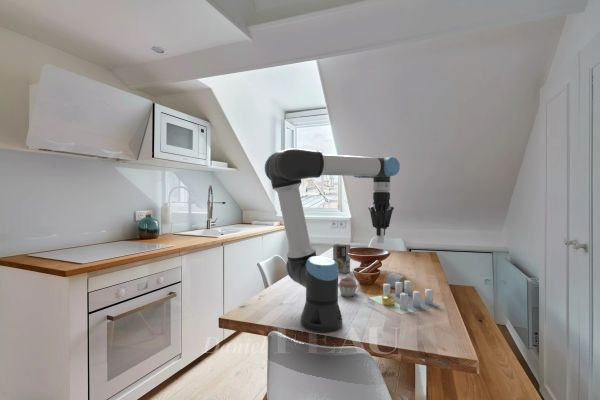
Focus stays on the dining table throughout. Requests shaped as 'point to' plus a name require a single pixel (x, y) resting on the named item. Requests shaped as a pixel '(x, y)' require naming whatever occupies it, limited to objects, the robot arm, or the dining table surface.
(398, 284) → the tray
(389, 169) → the robot arm
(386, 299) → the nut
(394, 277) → the ceramic mug
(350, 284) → the cupcake
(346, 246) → the coffee box
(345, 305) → the dining table surface
